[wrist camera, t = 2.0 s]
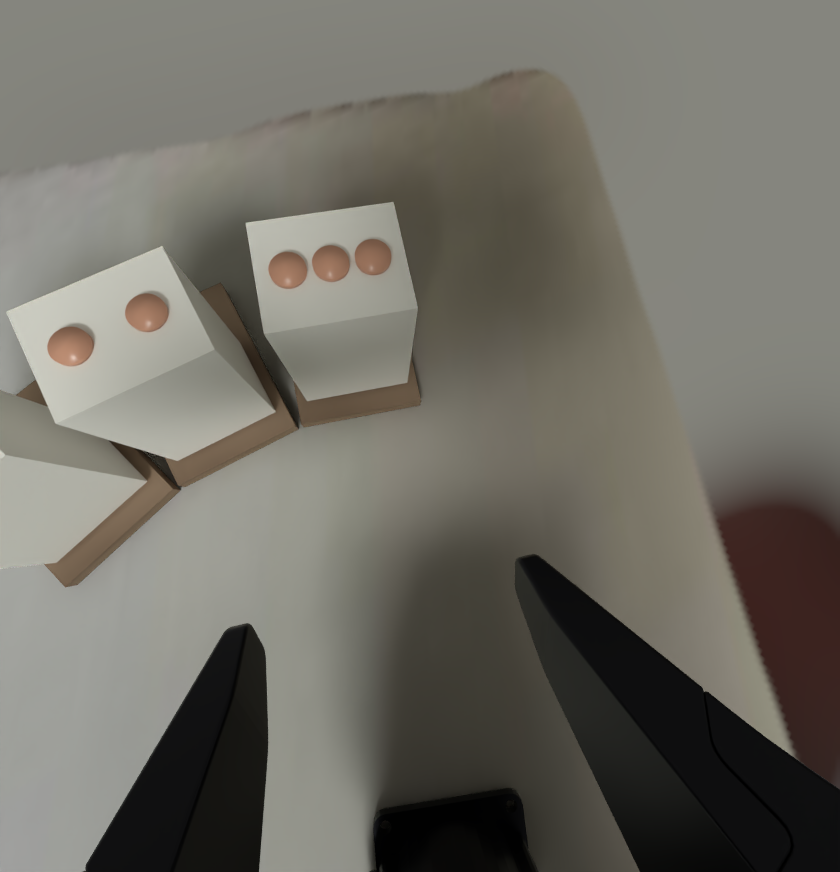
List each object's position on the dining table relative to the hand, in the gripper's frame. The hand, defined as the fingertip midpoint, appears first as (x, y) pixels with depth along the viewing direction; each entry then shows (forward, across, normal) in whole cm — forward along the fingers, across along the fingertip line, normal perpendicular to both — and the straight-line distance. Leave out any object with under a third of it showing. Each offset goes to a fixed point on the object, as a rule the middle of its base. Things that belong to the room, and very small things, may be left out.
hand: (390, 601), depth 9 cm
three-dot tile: (+17, 0, +2) cm, 17 cm away
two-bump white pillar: (+16, +7, +3) cm, 18 cm away
